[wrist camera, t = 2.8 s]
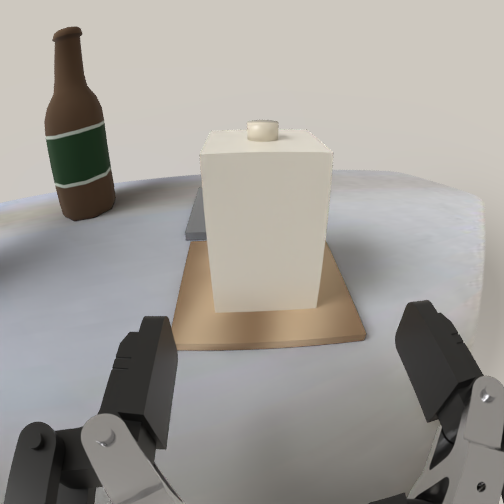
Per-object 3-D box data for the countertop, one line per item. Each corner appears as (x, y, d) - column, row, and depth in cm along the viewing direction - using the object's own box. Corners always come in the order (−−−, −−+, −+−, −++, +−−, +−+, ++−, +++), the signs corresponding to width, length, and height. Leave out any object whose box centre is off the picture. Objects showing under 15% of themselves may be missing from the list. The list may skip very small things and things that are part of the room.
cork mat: (170, 350, 18) (168, 343, 18) (191, 247, 28) (190, 241, 28) (364, 340, 18) (366, 333, 18) (323, 242, 28) (323, 237, 28)
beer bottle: (127, 196, 40) (110, 22, 27) (96, 223, 33) (70, 18, 20) (85, 197, 41) (65, 38, 28) (52, 221, 34) (24, 40, 22)
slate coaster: (186, 240, 29) (185, 232, 29) (199, 193, 39) (199, 187, 39) (313, 235, 30) (313, 228, 29) (293, 190, 40) (293, 184, 39)
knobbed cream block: (215, 312, 20) (198, 134, 14) (219, 257, 26) (210, 117, 20) (316, 308, 20) (334, 133, 14) (300, 254, 26) (307, 115, 20)
